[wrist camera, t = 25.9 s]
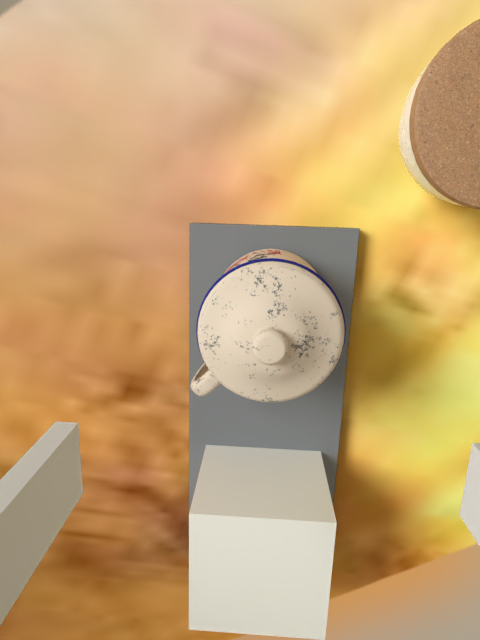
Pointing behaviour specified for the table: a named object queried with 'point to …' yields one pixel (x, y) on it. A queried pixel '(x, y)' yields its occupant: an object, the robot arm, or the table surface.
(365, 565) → the table surface
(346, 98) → the table surface
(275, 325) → the teacup with lid
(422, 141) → the lidded jar
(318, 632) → the block
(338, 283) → the board
